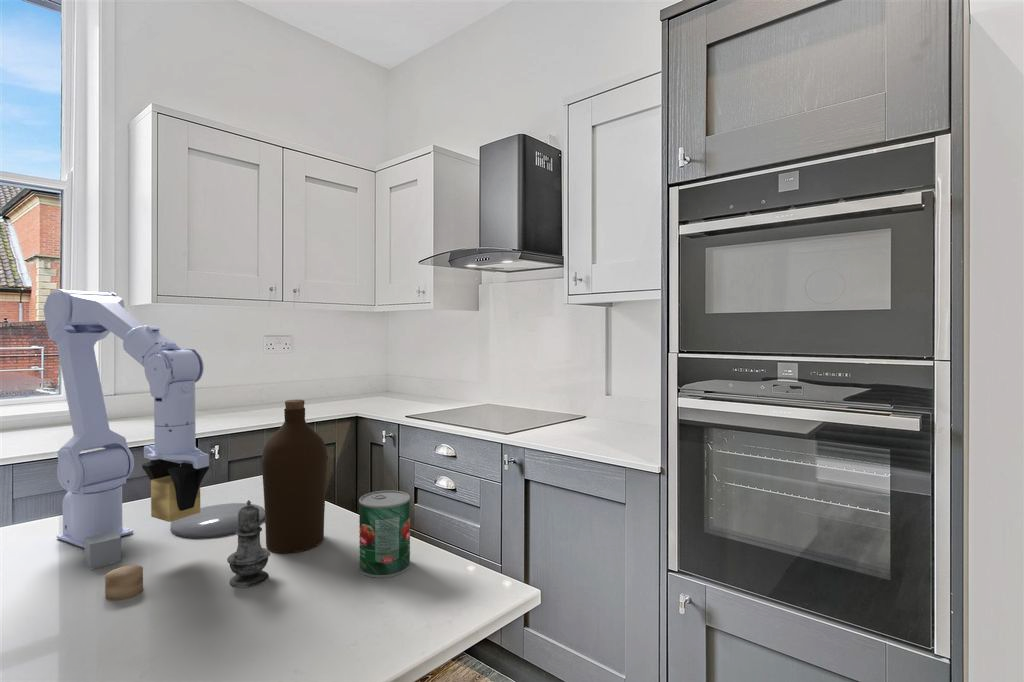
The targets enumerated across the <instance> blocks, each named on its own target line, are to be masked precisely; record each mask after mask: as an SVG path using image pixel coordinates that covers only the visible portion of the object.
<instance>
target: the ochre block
mask: <svg viewBox="0 0 1024 682" xmlns="http://www.w3.org/2000/svg"><path fill="white" fill-rule="evenodd" d="M150 503H151V504H150V505H151V506H150V509H151V510H150V511H151V515H150V516H151V518H155V519H156V520H157V519H158V520H161V521H164V522H168V523H171V522H172V521H175V520H178V519H181V518H185V517H188V516H191V515H194V514H198V513H200V508H201V486H200V487H199V490H198V493H197V497H196V501H195V504H194V507H193V508H190V509H187V510H183V511H180V510H179V508H178V505H177V498H176V490H175V486H174V483H173V480H172V478H171V476H166V477H162V478H157V479H153V480H151V481H150Z"/></svg>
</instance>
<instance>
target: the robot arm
mask: <svg viewBox="0 0 1024 682" xmlns="http://www.w3.org/2000/svg"><path fill="white" fill-rule="evenodd" d="M124 301H125V300H124V298H122V297H120V296H119V295H118V294H117V292H113V291H106V292H104V291H86V290H70V289H69V290H67V289H66V290H65V289H61V288H57V289H56V288H55V289H53V290H52V291H51V292H50V293H49V294H48V296H47V297H46V300H45V303H44V305H43V315H44V320H45V326H46V331H47V335H48V338H49V340H51V341H53V342H55V343H56V347H57V353H58V357H59V358H58V359H59V364H60V370H61V373H62V374H61V375H62V380H63V385H64V390H65V395H66V401H67V406H68V412H69V417H70V423H71V427H72V432H73V436H72V437H71V438H70V439H69V440H68V441H67V442H66V443H65V444H63V446H61V447H60V448H59V450H57V467H56V468H57V469H56V477H57V481H58V483H59V485H60V486H61V487H62V488H63V489H64V490H65V491H66V492H67V493H66V494H65V495H64V496H63V499H62V505H61V506H62V533H59V534H57V535H56V539H58V540H61V541H64V542H67V543H70V544H72V545H74V546H77V547H80V548H84V538H85V537H89V536H94V535H98V534H103V533H107V532H111V531H115V532H116V533H117V534H118V535H119V536H120V537H124V536H128V535H130V534H134V529H131V528H128V527H125V526H123V485H124V484H127V479H128V478H129V477H130V476H131V475H132V472H133V471H134V469H135V468H134V467H135V458H134V455H133V453H132V452H131V449H130V448H129V446H128V444H127V440H126V437H125V436H123V435H121V434H119V433H118V432H116V431H113V430H111V429H110V425H109V421H108V420H109V419H108V415H107V409H106V404H105V399H104V393H103V389H102V384H101V378H100V373H99V369H98V362H97V358H96V352H95V351H96V350H95V345H96V344H97V342H99V341H101V340H103V339H105V338H106V337H108V335H109V334H110V333H112V334H113V335H115V336H116V337H118V338H119V339H121V340H122V341H123V342H122V347H123V350H124V351H125V353H127V354H128V355H129V356H130V357H132V358H133V359H134V360H135V361H136V362H137V363H139V365H141V366H142V367H143V368H144V376H145V378H146V381H147V382H148V385H149V393H150V396H151V397H153V404H154V405H153V407H154V409H153V411H154V412H153V413H154V415H153V416H154V417H153V423H154V435H153V436H154V444H151V445H145V446H144V447H143V458H144V459H148V460H150V461H149V462H145V463H143V464H142V465H141V467H142V469H143V471H144V473H146V475H147V477H148V478H149V480H150V482H151V480H153V479H157V478H162V477H166V476H171V478H172V480H173V483H174V486H175V490H176V498H177V505H178V508H179V510H180V511H183V510H187V509H190V508H193V507H194V504H195V501H196V497H197V493H198V490H199V487H200V488H201V484H202V482H203V479H204V478H205V476H206V474H207V472H208V471H209V470H210V454H208V453H206V452H203V451H201V449H199V448H198V447H197V445H196V441H197V440H196V439H197V438H196V383H197V382H199V381H200V380H201V378H202V376H203V373H204V368H205V367H204V366H205V365H204V361H203V358H202V356H201V355H200V353H199V352H198V351H197V350H196V349H195V348H191V347H190V348H184V347H180V346H178V345H177V343H176V342H174V341H173V340H171V339H169V338H168V336H166V335H165V334H164V333H162V332H161V331H160V328H159V327H158V326H156V325H146V324H145V325H141V324H140V323H139V321H137V320H136V319H135V318H134V317H133V316H132V314H131V313H129V312H128V311H127V310H126V309H125V302H124ZM101 448H102V449H101ZM94 449H97V450H94ZM88 450H92V451H88ZM83 451H87V452H83ZM81 452H82V453H81Z"/></svg>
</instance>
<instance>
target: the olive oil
mask: <svg viewBox="0 0 1024 682" xmlns="http://www.w3.org/2000/svg"><path fill="white" fill-rule="evenodd" d="M284 405H285V407H284V411H283V412H284V422H283V424H282V425H281V426H280V427H279V428H278V430H276V432H274V434H273V435H272V436H271V437H270V438H269V439H268V440H267V442H266V443H265V445H264V448H263V451H262V453H261V472H262V474H261V475H262V483H263V484H262V486H263V489H262V490H263V502H264V503H263V505H264V507H263V508H264V510H265V518H264V521H265V522H264V524H265V527H264V528H265V545H266V549H268V550H269V551H270V552H273V553H277V554H291V553H292V554H293V553H299V552H303V551H308V550H310V549H314V548H315V547H317V546H319V545H320V544H322V542H323V541H324V537H325V536H324V534H325V510H326V509H325V506H326V490H327V489H326V483H327V468H328V451H327V447H326V443H325V441H324V439H323V438H322V436H320V434H318V433H317V432H316V431H315V430H314V429H313V428H312V427H311V426H310V425H309V424H308V423H307V421H306V407H305V400H304V399H287V400H285V401H284Z"/></svg>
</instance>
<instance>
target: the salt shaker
mask: <svg viewBox="0 0 1024 682" xmlns="http://www.w3.org/2000/svg"><path fill="white" fill-rule="evenodd" d="M246 504H247V505H246V506H245V507H243V508H241V509H240V510H239V512H238V530H237V531H236V533H235V535H237V547H236V551H235V552H233V553H231V554H230V555H229V556H228V557H227V558H226V561H227V563H228V564H229V567H230V570H231V572H232V573H233V574H235V575H234V576H232V577H231V579H230V580H229V585H230V586H231V587H233V588H239V589H240V588H241V589H243V588H244V589H245V588H250V587H254V586H258V585H260V584H262V583H264V582H266V581H267V580H268V578H269V573H268V572H267V571H265V570H264V569H265V567H267V564H268V561H269V557H270V556H271V551H270V550H269V549H268V548H267V547H266V548H264V547H262V545H261V532H262V531H263V527H261V526H260V523H259V509H258V508H257V507H256V506H252V505H250V504H252V502H251V501H250V500H249V499H248V500H247V502H246Z"/></svg>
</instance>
